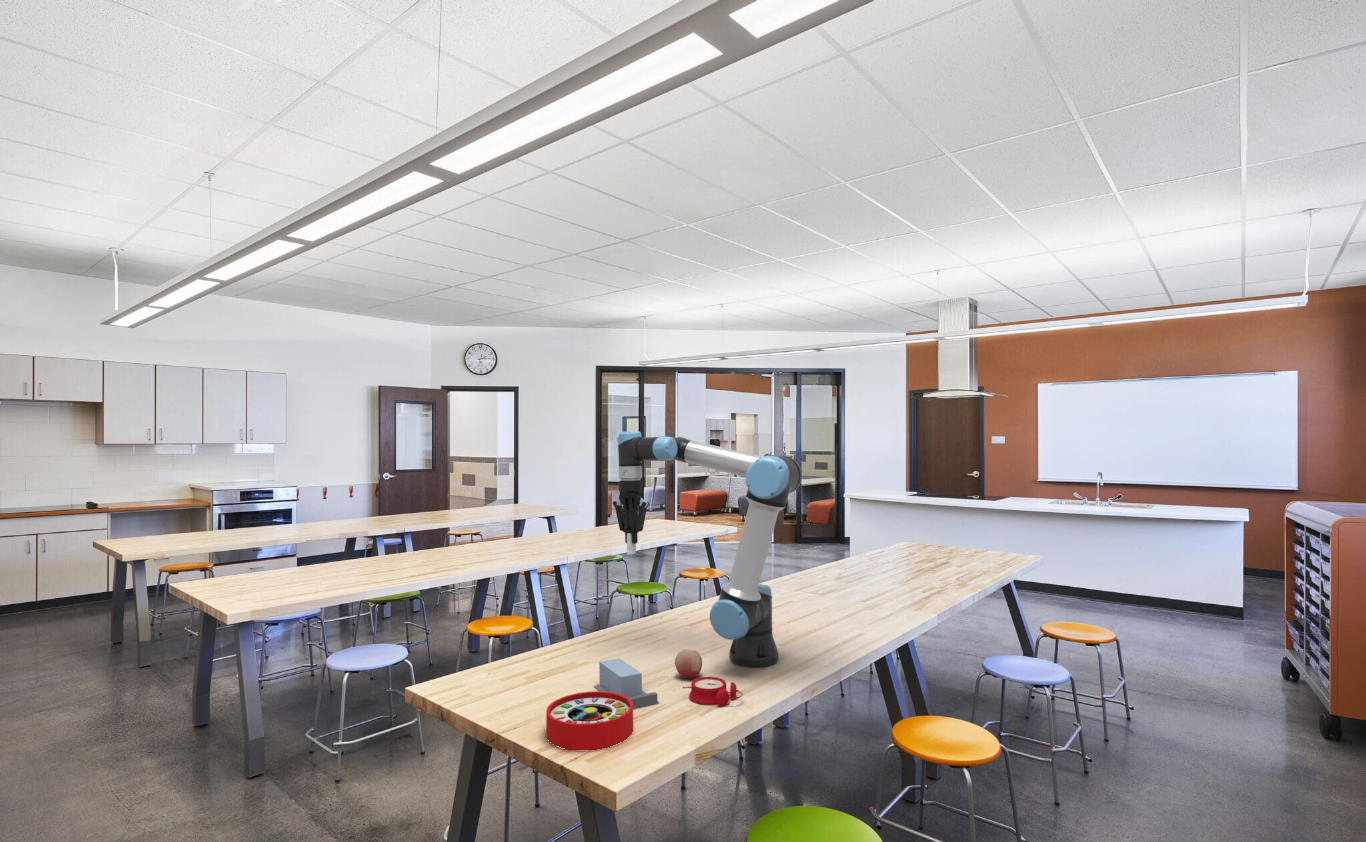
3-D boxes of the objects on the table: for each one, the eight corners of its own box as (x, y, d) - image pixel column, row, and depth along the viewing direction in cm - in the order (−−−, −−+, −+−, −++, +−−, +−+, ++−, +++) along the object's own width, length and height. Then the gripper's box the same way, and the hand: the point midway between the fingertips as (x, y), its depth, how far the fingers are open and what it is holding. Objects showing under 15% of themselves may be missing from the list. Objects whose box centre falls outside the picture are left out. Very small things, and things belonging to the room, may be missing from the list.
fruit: (705, 673, 191) (704, 645, 192) (698, 682, 184) (698, 653, 184) (679, 671, 193) (678, 643, 194) (671, 680, 186) (670, 652, 186)
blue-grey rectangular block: (599, 661, 184) (620, 677, 171) (618, 658, 187) (641, 673, 174) (599, 683, 183) (621, 700, 170) (619, 679, 186) (642, 696, 173)
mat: (593, 686, 182) (593, 677, 182) (626, 680, 186) (626, 671, 187) (623, 711, 164) (623, 701, 164) (659, 703, 169) (659, 693, 169)
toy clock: (649, 700, 156) (596, 732, 139) (650, 725, 156) (596, 760, 139) (584, 686, 167) (527, 713, 150) (584, 709, 166) (527, 739, 149)
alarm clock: (697, 674, 180) (745, 670, 173) (702, 698, 179) (750, 694, 172) (677, 686, 171) (727, 682, 164) (682, 711, 170) (733, 708, 163)
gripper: (607, 480, 211) (608, 554, 210) (640, 480, 204) (641, 556, 203) (620, 479, 217) (621, 551, 216) (653, 479, 211) (655, 553, 210)
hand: (631, 553), depth 210 cm, fingers closed
